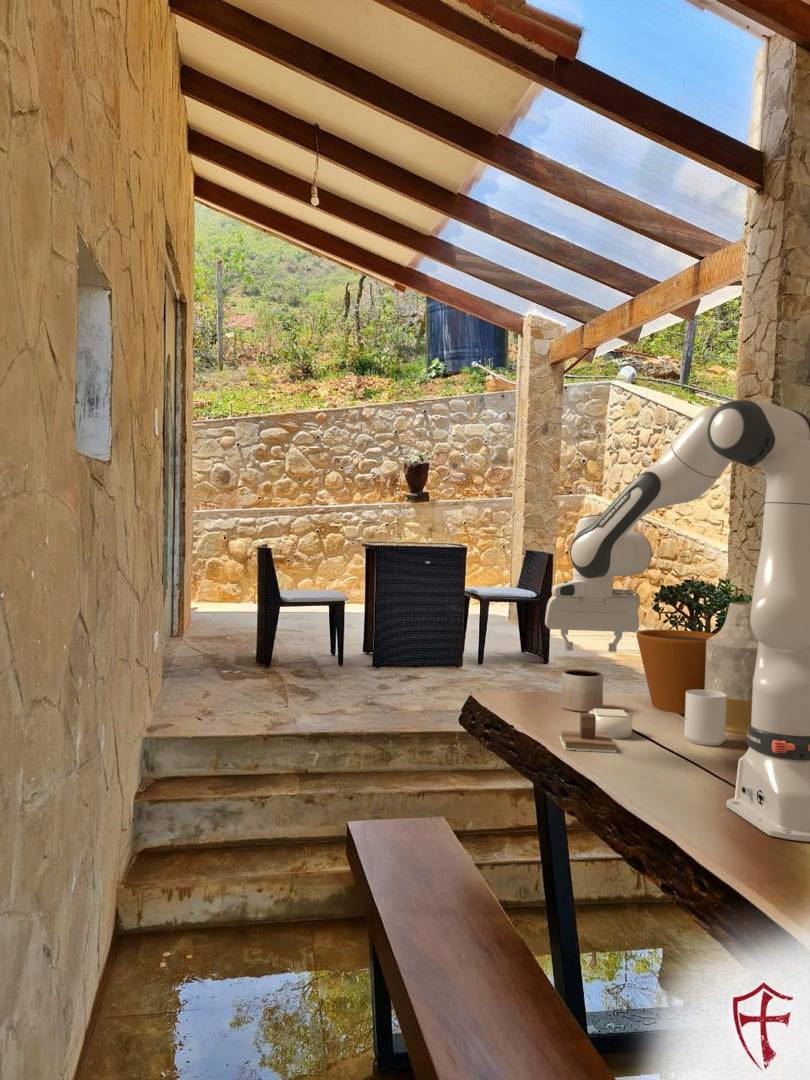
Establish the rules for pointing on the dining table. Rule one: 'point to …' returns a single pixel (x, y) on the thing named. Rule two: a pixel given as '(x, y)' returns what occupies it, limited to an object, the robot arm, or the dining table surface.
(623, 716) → the disc with square top
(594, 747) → the lid
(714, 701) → the mug
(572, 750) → the mat
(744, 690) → the vase
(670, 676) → the flower pot
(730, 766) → the dining table surface
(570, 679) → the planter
